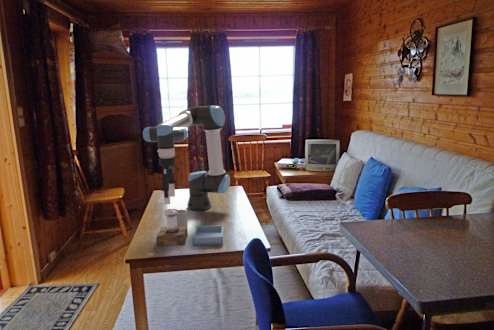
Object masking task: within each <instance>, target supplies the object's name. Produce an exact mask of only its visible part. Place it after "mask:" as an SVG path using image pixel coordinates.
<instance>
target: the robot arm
mask: <svg viewBox="0 0 494 330" xmlns="http://www.w3.org/2000/svg"><path fill="white" fill-rule="evenodd" d="M225 122H226V115H225V111H224V110H223V108H222V107H221V106H219V105H203V106H202V105H201V106H200V105H197V106H196V105H195V106H193V107H189V108H187V109H185V110H183V111H181V112H179V113H178V114H177V115H175V116H174V117H172V118H170V119H167V120H165V121H164V122H161V123H159V124H156V125H155V126H147V127H144V129H143V131H142V138H143V140H144V141H146V142H147V143H148V142H151V143H157V151H156V152H157V153H158V157H159V158H158V162H159V163H158V165H159V166H160V167H163V169H162V170H161V171H162V178H161V179H162V180H161V181H162V182H161V192H163V205H171V197H172V198H174V197H176V192H175V191H176V190H175V184H176V181H175V180H176V179H175V175H174V167H173V166H174V165H176V157H175V156H176V151H175V143H181V142H183V141H186V139H187V138H188V134H189V133H188V131H187V129H186V128H188V127H189V128H190V127H194V126H200V127H201V128H202V131H203V132H205V139H206V149H207V160H208V169H209V170H208V171H206V170H201V171H200V170H199V171H195V172H191V173H189V175H188V180H187V181H188V189H189V190H188V193H189V198H188V202H187V206H186V207H187V209H188V210H190V211H196V212H197V211H206V210H209V209H211V208H212V202H211V200H210V199H211V198H209V193H210V194H211V193H212V194H226V193H227V192H228V191H229V189H230V185H231V177H230V175H229V174H227V171H226V170H225V169H224V164H223V163H224V162H223V161H224V160H223V151H222V140H221V130H222V129H223V126H224V125H225Z"/></svg>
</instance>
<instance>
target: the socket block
mask: <svg viewBox="0 0 494 330" xmlns="http://www.w3.org/2000/svg"><path fill="white" fill-rule="evenodd" d="M177 230H178V233H167V226H161V228H160V229H159V231H158V233H157V235H156V247H169V246H171V247H173V246H185V244H186V242H187V238H188V235H189V233H188V231H189V230H188V227H187V226H177Z"/></svg>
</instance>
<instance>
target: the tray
mask: <svg viewBox="0 0 494 330" xmlns="http://www.w3.org/2000/svg"><path fill="white" fill-rule="evenodd" d="M224 230H225V229H224V225H223V224H218V225H215V224H213V225H196V226H195V229H194V234H193V237H192V240H193V241H192V244H193V247H198V246H199V247H200V246H201V247H202V246H219V245H220V246H222V245H223V244H224V233H225V231H224Z"/></svg>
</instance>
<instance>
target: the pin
mask: <svg viewBox="0 0 494 330" xmlns="http://www.w3.org/2000/svg"><path fill="white" fill-rule="evenodd" d="M178 210H179V209H176V208H170V209H166V210H164V211H163V213H164V216H165V218H166V227H167V233H178V230H177V216H176V215H177V214H178Z"/></svg>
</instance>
